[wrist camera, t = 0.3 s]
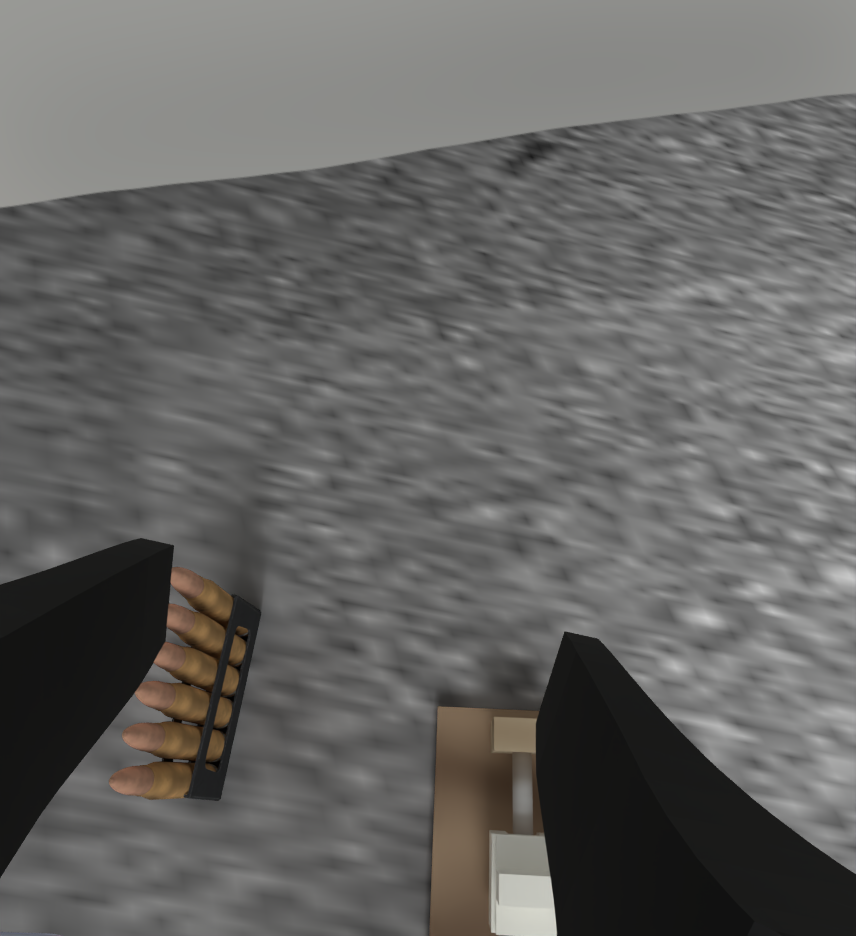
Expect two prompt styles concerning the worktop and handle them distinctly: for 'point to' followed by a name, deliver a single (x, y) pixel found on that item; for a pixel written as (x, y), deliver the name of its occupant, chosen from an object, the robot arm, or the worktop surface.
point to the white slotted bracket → (520, 886)
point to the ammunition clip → (194, 695)
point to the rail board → (478, 808)
